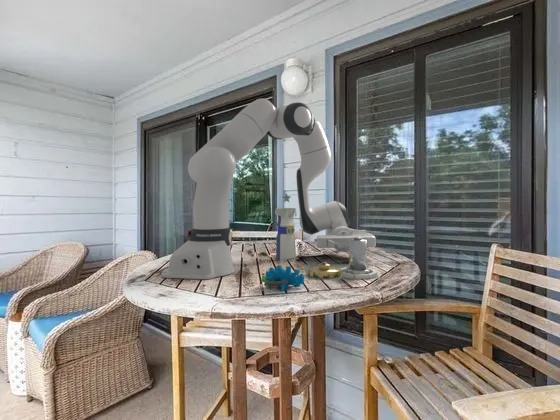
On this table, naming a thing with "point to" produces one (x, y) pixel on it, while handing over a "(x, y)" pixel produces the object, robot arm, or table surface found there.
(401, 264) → the table surface
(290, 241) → the white piece
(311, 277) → the gear board
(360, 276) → the seat ring
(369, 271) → the grey cylindrical peg
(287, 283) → the gear
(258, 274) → the table surface
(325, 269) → the brass gear
